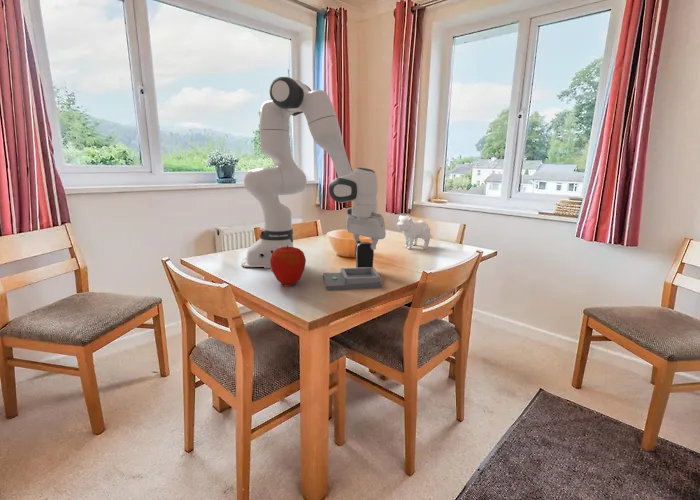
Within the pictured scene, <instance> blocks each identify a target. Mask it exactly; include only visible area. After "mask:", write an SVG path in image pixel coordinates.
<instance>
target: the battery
mask: <svg viewBox="0 0 700 500" xmlns="http://www.w3.org/2000/svg"><path fill="white" fill-rule="evenodd" d="M371 244H372V242H369V241H364V242H362V241H361V243H357V244H356V245H355V247H354V249H355V250H354V256H355V261H356V262H355V268H357V267H373V268H374V256H375V255H374V254H375V253H374V250H371V249H370V245H371Z"/></svg>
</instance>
